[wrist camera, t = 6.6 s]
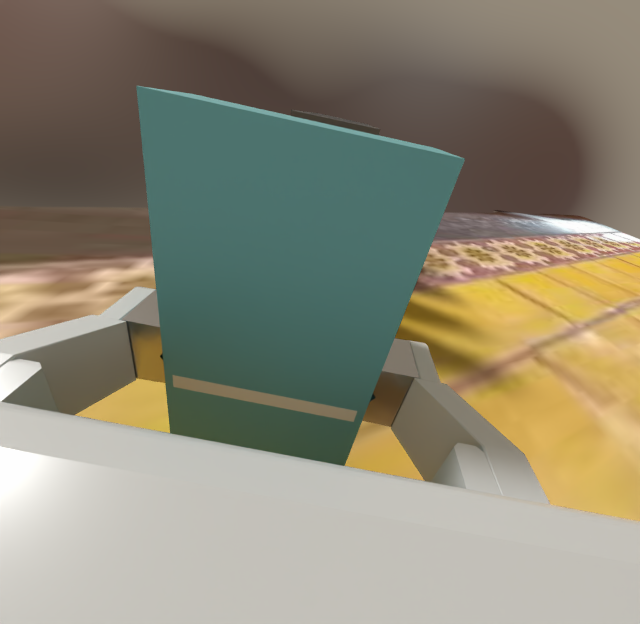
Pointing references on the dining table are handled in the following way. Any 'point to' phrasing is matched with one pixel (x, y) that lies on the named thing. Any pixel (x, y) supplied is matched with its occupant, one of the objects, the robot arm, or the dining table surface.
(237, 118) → the teal domino
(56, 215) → the dining table surface
